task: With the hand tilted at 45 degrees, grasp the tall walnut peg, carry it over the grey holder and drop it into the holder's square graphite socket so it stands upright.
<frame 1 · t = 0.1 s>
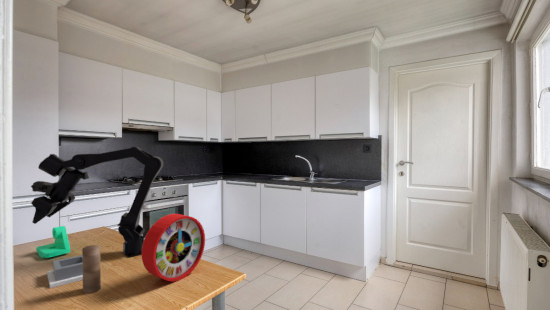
hand: (41, 219, 105), 15 cm above the table, tool tilted 35°, fingers open, 9 cm apart
toy clock: (175, 277, 93), on the table
camera mount: (52, 254, 111), on the table
walnut peg: (91, 289, 84), on the table
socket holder: (71, 275, 93), on the table
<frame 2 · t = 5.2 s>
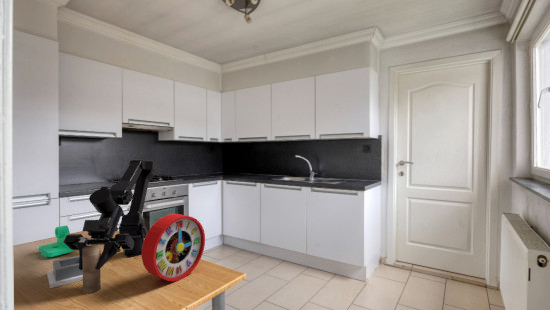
hand: (88, 269, 82), 7 cm above the table, tool tilted 45°, fingers closed on walnut peg, 4 cm apart
walnut peg: (91, 289, 84), on the table, touching gripper
when the fingers open (9 cm above the table, at t = 9.1 s): walnut peg drops 1 cm, resting on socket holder.
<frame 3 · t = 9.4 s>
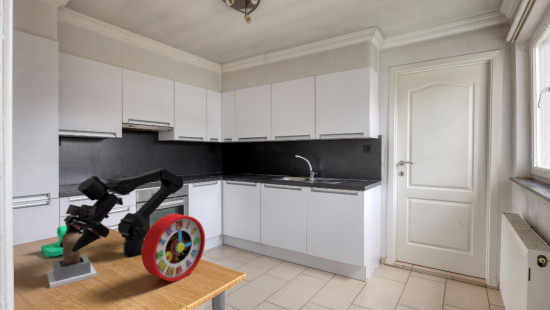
hand: (66, 249, 92), 9 cm above the table, tool tilted 45°, fingers open, 7 cm apart
walnut peg: (71, 272, 93), point 1 cm above the table, touching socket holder
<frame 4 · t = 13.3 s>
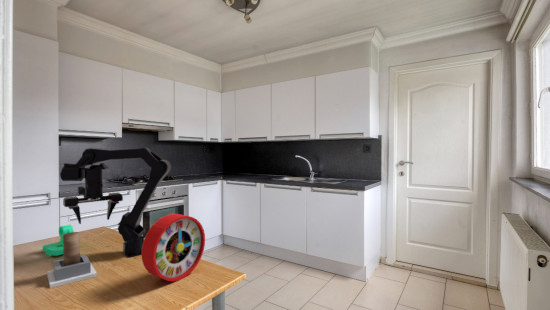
hand: (94, 221, 110), 13 cm above the table, tool pointing down, fingers open, 9 cm apart
at the end: walnut peg 0.0 cm off-centre on the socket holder, point 1.0 cm above the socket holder's base; walnut peg tilted 0°; the gripper is holding nothing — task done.
